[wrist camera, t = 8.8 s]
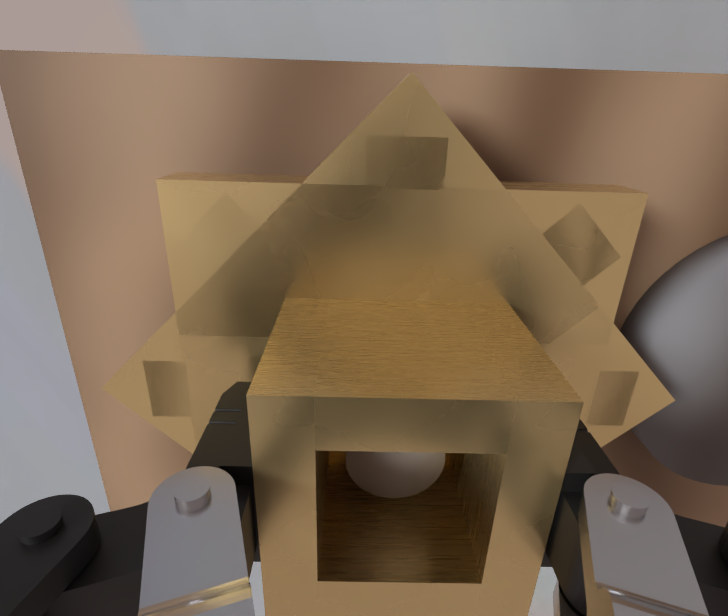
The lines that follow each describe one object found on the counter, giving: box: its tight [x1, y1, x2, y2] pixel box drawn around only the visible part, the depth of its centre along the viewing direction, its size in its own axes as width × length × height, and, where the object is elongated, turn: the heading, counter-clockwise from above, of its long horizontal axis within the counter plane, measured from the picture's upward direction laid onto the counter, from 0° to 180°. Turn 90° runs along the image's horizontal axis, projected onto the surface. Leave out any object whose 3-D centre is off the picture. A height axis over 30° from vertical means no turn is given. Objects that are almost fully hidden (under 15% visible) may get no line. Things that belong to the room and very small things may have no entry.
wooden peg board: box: [0, 50, 728, 527], centre depth 12 cm, size 26×15×7 cm, turn 88°
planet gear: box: [102, 72, 675, 616], centre depth 10 cm, size 14×14×5 cm
